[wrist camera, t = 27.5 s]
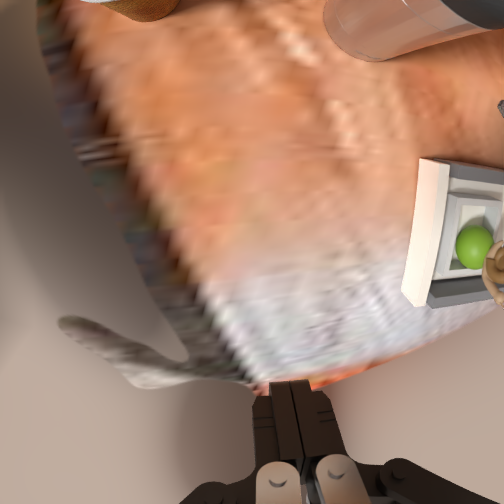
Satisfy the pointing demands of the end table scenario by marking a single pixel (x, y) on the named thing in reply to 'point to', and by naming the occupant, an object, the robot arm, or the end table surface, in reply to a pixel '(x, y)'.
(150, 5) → the disposable coffee cup
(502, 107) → the mini dv tape
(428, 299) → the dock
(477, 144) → the end table surface
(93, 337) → the end table surface
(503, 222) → the tray
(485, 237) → the snail figurine
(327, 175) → the end table surface
